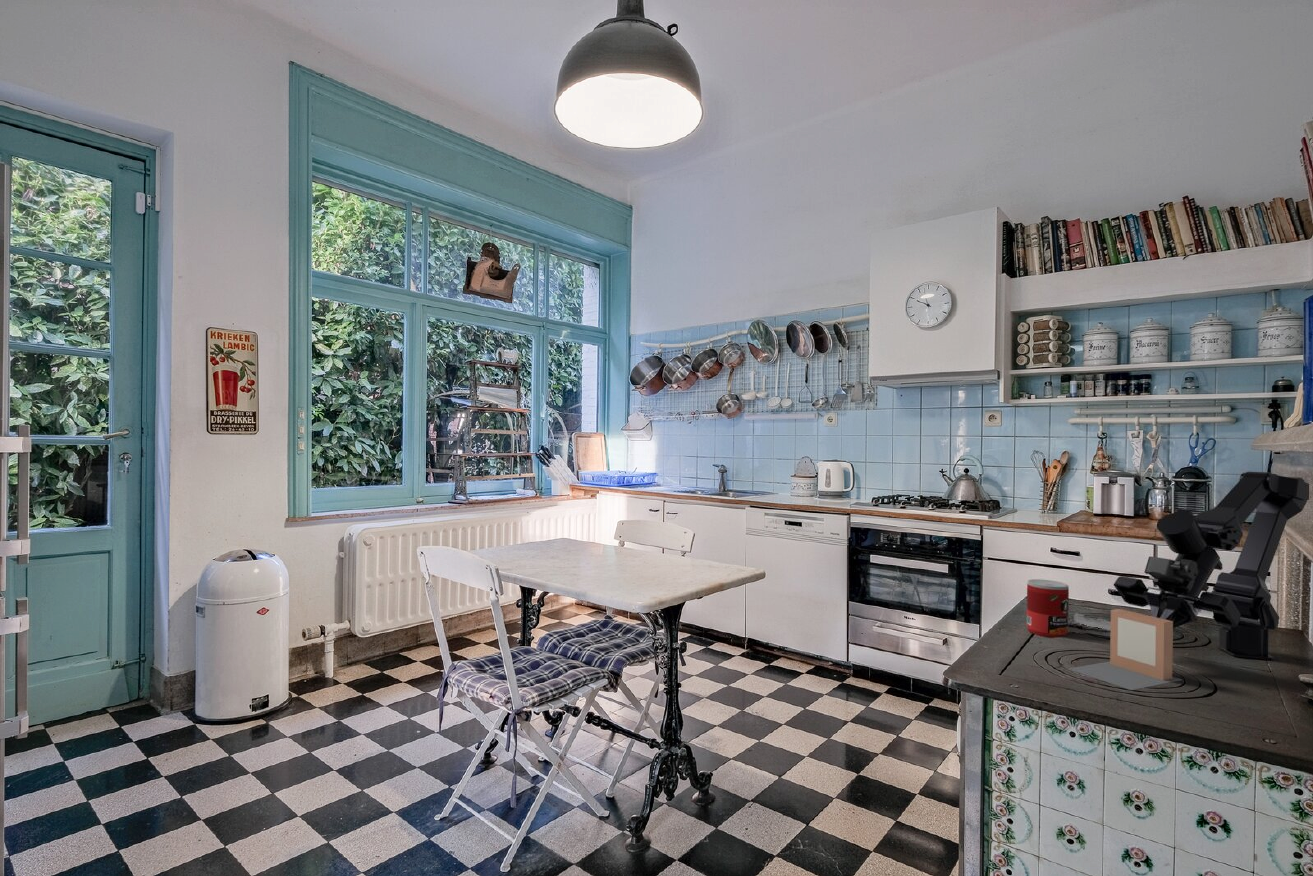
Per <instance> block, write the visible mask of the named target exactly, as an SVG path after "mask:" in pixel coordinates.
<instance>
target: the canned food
mask: <svg viewBox="0 0 1313 876" xmlns="http://www.w3.org/2000/svg"><path fill="white" fill-rule="evenodd" d="M1026 585H1027V587H1026V628H1027V631H1028V632H1029V633H1030V634H1034V635H1036V636H1040V637H1044V636H1046V637H1045V638H1050V637H1052V638H1051V639H1054V638H1061V637H1067V635H1068V634H1069V632H1068V621H1069V603H1070V601H1069V600H1070V599H1069V597H1070V596H1069V595H1070V594H1069V593H1070V592H1069V590H1070V588H1069V585H1068V584H1067V583H1066V582H1065V583H1064V582H1061V581H1056V580H1051V579H1050V580H1049V579H1042V578H1041V579H1040V578H1039V579H1038V578H1037V579H1028V580H1027V583H1026Z"/></svg>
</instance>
